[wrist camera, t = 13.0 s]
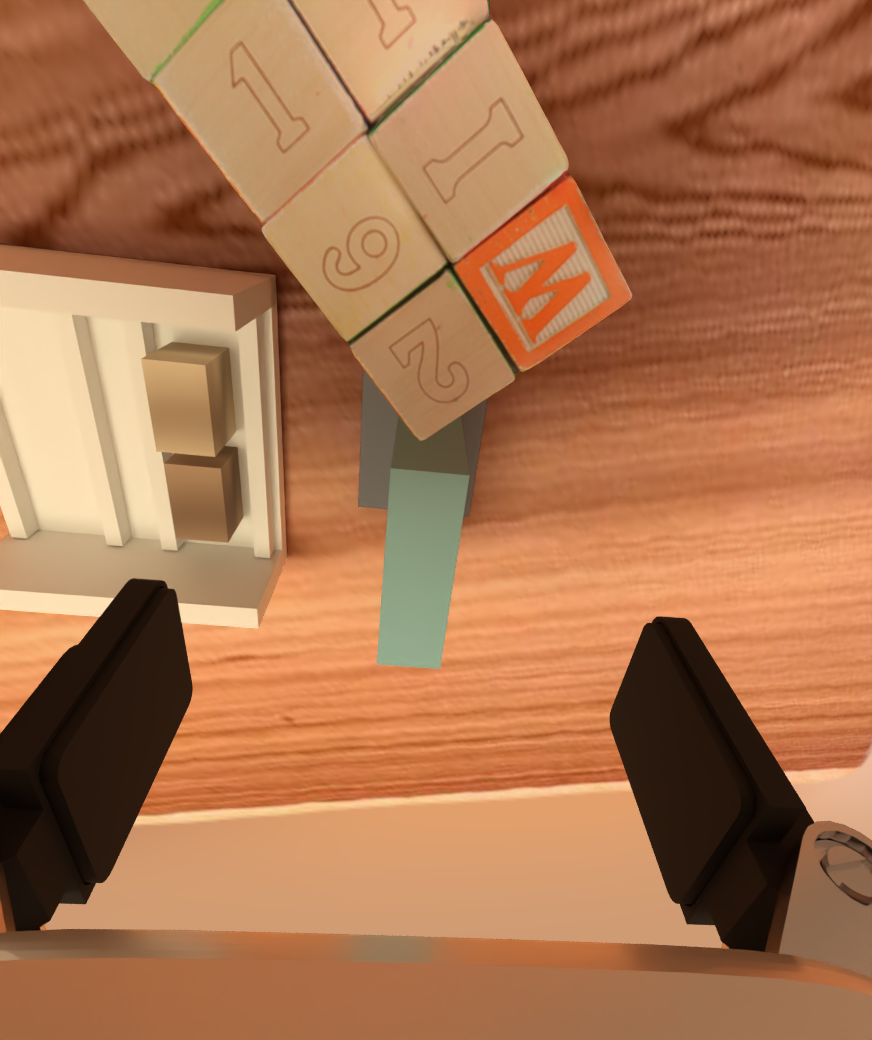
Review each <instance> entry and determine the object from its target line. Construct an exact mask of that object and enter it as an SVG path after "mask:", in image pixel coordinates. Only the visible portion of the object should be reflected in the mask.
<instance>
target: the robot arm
mask: <svg viewBox="0 0 872 1040" xmlns="http://www.w3.org/2000/svg"><path fill="white" fill-rule="evenodd" d="M191 697H192V680H191V674H190V669H189V663H188V657H187V651H186V646H185V640H184V634H183V628H182V622H181V617H180V611H179V605H178V599H177V594H176V591H175V590H174V589H170V588H168V587H167V584H166V582H165V581H162V580H151V579H137V578H132V579H130V580H129V581H128V582H127V583H126V584H125V585H124V586H123V588H122V589H121V590H120V592H119V593H118V594H117V595H116V597H115V598H114V599H113V601H112V602H111V603H110V604H109V606H108V607H107V608H106V610H105V611H104V612H103V613H102V615H101V616H100V617H99V619H98V620H97V621H96V622H95V624H94V625H93V626H92V628H91V629H90V630H89V631H88V633H87V634H86V635H85V637H84V638H83V639H82V640H81V642H80V643H79V644H78V645H75V646H73V647H71V648H69V649H68V650H67V651H66V652H65V653H64V654H63V655H62V657H61V658H60V659H59V661H58V662H57V663H56V664H55V666H54V667H53V668H52V669H51V671H50V672H49V673H48V674H47V676H46V677H45V678H44V679H43V681H42V682H41V683H40V684H39V686H38V687H37V688H36V690H35V691H34V692H33V693H32V695H31V696H30V697H29V698H28V700H27V701H26V702H25V703H24V705H23V706H22V707H21V708H20V710H19V711H18V712H17V714H16V715H15V716H14V717H13V719H12V720H11V721H10V722H9V724H8V725H7V726H6V727H5V729H4V730H3V731H2V732H1V734H0V1040H872V840H870V839H869V838H867V837H866V836H865V835H863V834H862V833H860V832H858V831H856V830H854V829H852V828H850V827H848V826H846V825H843V824H839V823H835V822H831V821H820V822H815V823H814V821H813V820H812V818H811V816H810V815H809V813H808V811H807V810H806V807H805V806H804V804H803V802H802V801H801V799H800V798H799V796H798V794H797V793H796V791H795V790H794V788H793V786H792V785H791V783H790V781H789V780H788V778H787V777H786V775H785V773H784V772H783V770H782V769H781V767H780V765H779V764H778V762H777V761H776V759H775V757H774V756H773V754H772V753H771V751H770V749H769V748H768V746H767V745H766V743H765V741H764V740H763V738H762V736H761V735H760V733H759V732H758V730H757V728H756V727H755V725H754V724H753V722H752V720H751V719H750V717H749V716H748V714H747V712H746V711H745V709H744V708H743V706H742V704H741V703H740V701H739V700H738V698H737V696H736V695H735V693H734V692H733V690H732V688H731V687H730V685H729V683H728V682H727V680H726V679H725V677H724V675H723V674H722V672H721V671H720V669H719V667H718V666H717V664H716V663H715V661H714V659H713V658H712V656H711V655H710V653H709V651H708V650H707V648H706V647H705V645H704V643H703V642H702V640H701V639H700V637H699V635H698V634H697V632H696V630H695V629H694V627H693V626H692V624H691V623H690V622H689V620H687V619H685V618H673V617H656V618H655V619H654V620H653V622H652V623H647V624H646V625H645V626H644V628H643V630H642V633H641V635H640V638H639V640H638V643H637V646H636V648H635V651H634V653H633V656H632V658H631V661H630V663H629V666H628V668H627V671H626V673H625V676H624V678H623V681H622V684H621V686H620V689H619V691H618V694H617V696H616V699H615V701H614V704H613V706H612V709H611V712H610V727H611V730H612V733H613V736H614V739H615V742H616V745H617V748H618V751H619V753H620V756H621V759H622V762H623V765H624V768H625V771H626V774H627V776H628V779H629V782H630V785H631V788H632V791H633V793H634V796H635V799H636V802H637V805H638V808H639V811H640V814H641V817H642V819H643V822H644V825H645V828H646V831H647V834H648V836H649V839H650V842H651V845H652V848H653V851H654V854H655V856H656V859H657V862H658V865H659V868H660V871H661V874H662V877H663V880H664V882H665V885H666V888H667V891H668V893H669V895H670V898H671V899H672V901H674V902H675V903H677V904H680V906H681V909H682V911H683V914H684V917H685V920H686V923H687V924H696V925H715V926H716V928H717V931H718V934H719V936H720V939H721V941H722V942H723V944H722V947H721V948H703V947H687V946H669V945H650V944H649V945H648V944H622V943H594V942H566V941H538V940H512V939H479V938H447V937H415V936H383V935H381V936H380V935H350V934H312V933H274V932H273V933H272V932H235V931H195V930H194V931H193V930H112V929H110V930H108V929H62V930H46V928H45V924H46V923H47V922H49V921H50V920H51V918H52V916H53V914H54V912H55V910H56V908H57V906H58V904H59V903H65V904H86V903H87V900H88V899H89V896H90V894H91V892H92V890H93V888H94V886H95V884H96V883H103V882H104V881H105V880H106V879H107V878H108V876H109V875H110V873H111V871H112V869H113V867H114V865H115V863H116V861H117V858H118V856H119V854H120V852H121V850H122V848H123V846H124V843H125V841H126V839H127V837H128V835H129V833H130V831H131V828H132V826H133V824H134V822H135V820H136V818H137V816H138V813H139V811H140V809H141V807H142V805H143V803H144V801H145V798H146V796H147V794H148V792H149V790H150V788H151V786H152V783H153V781H154V779H155V777H156V775H157V773H158V771H159V768H160V766H161V764H162V762H163V760H164V758H165V756H166V753H167V751H168V749H169V747H170V745H171V743H172V741H173V738H174V736H175V734H176V732H177V730H178V728H179V726H180V723H181V721H182V719H183V717H184V715H185V713H186V711H187V708H188V706H189V704H190V701H191Z"/></svg>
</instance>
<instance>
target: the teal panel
mask: <svg viewBox="0 0 872 1040" xmlns="http://www.w3.org/2000/svg"><path fill="white" fill-rule="evenodd" d="M469 476H470V475H469V468H468V461H467V454H466V447H465V440H464V433H463V426H462V419H461V416H460V417H458V418H457V419H455V420H454V421H452V422H451V423H449V424H447V425H446V426H444V427H443V428H441V429H440V430H439V431H437V432H436V433H434V434H433V435H431V436H430V437H428V438H427V439H425V440H422V441H420V440H418V439H417V438H416V437H415V436H414V435H413V433H412V432H411V431H410V430H409V428H408V427H407V426H406V424H405V423H404V422H403V420H402V419H401V418H400V416H398V423H397V429H396V436H395V443H394V449H393V456H392V463H391V471H390V485H389V499H388V513H387V528H386V542H385V556H384V570H383V584H382V598H381V612H380V626H379V641H378V655H377V664H379V665H393V666H407V667H421V668H435V669H440V666H441V660H442V653H443V646H444V640H445V633H446V627H447V620H448V614H449V607H450V601H451V594H452V587H453V581H454V574H455V568H456V561H457V555H458V548H459V542H460V535H461V528H462V522H463V515H464V509H465V502H466V496H467V489H468V482H469Z"/></svg>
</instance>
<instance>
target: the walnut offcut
mask: <svg viewBox="0 0 872 1040" xmlns="http://www.w3.org/2000/svg"><path fill="white" fill-rule="evenodd" d="M164 467H165V473H166V479H167V485H168V492H169V498H170V504H171V510H172V517H173V523H174V529H175V535H176V538H177V539H189V540H202V541H214V542H226V543H228V542H229V541H230V539H231V537H232V536H233V534H234V532H235V531H236V529H237V527H238V525H239V524H240V522H241V520H242V519H243V506H242V494H241V482H240V470H239V458H238V447H231V446H224V447H223V448H222V449H221V451H220V452H219V453H218V454H217V455H216V456H215V457H211V456H200V455H189V454H178V453H174V454H173V455H172V456H171V457H170V458H169V459H168V460H167V461H166V462H165V463H164Z"/></svg>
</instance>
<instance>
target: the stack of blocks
mask: <svg viewBox="0 0 872 1040" xmlns="http://www.w3.org/2000/svg"><path fill="white" fill-rule="evenodd" d="M83 1H84V3H85V4H86V5H87V6H88V8H89V9H90V10H91V11H92V13H93V14H94V15H95V17H96V18H97V19H98V20H99V22H100V23H101V24H102V25H103V27H104V28H105V29H106V31H107V32H108V33H109V34H110V36H111V37H112V38H113V40H114V41H115V42H116V43H117V45H118V46H119V47H120V49H121V50H122V51H123V52H124V54H125V55H126V56H127V58H128V59H129V60H130V61H131V63H132V64H133V65H134V67H135V68H136V69H137V70H138V72H139V73H140V74H141V76H142V77H143V78H144V79H146V80H147V81H148V82H150V83H151V84H153V85H154V86H156V88H157V89H158V90H159V92H160V93H161V94H162V96H163V97H164V98H165V100H166V101H167V103H168V104H169V105H170V107H171V108H172V109H173V111H174V112H175V113H176V115H177V116H178V118H179V119H180V120H181V121H182V123H183V124H184V125H185V127H186V128H187V129H188V130H189V132H190V133H191V134H192V136H193V137H194V138H195V139H196V141H197V142H198V143H199V145H200V146H201V147H202V148H203V150H204V151H205V152H206V154H207V155H208V156H209V157H210V159H211V160H212V161H213V162H214V163H215V165H216V166H217V167H218V169H219V170H220V171H221V173H222V174H223V175H224V177H225V178H226V179H227V181H228V182H229V183H230V185H231V186H232V187H233V189H234V190H235V191H236V192H237V194H238V195H239V196H240V198H241V199H242V200H243V201H244V203H245V204H246V205H247V206H248V208H249V209H250V210H251V211H252V213H253V214H254V215H255V216H256V217H257V218H258V219H259V221H260V224H261V231H262V233H263V235H264V236H265V238H266V239H267V241H268V242H269V243H270V245H271V246H272V247H273V248H274V250H275V251H276V252H277V254H278V255H279V256H280V258H281V259H282V260H283V262H284V263H285V264H286V266H287V267H288V268H289V269H290V271H291V272H292V273H293V274H294V276H295V277H296V278H297V280H298V281H299V282H300V283H301V285H302V286H303V287H304V289H305V290H306V291H307V292H308V294H309V295H310V296H311V298H312V299H313V300H314V302H315V303H316V304H317V306H318V307H319V308H320V309H321V311H322V312H323V313H324V315H325V316H326V317H327V319H328V320H329V321H330V323H331V324H332V325H333V327H334V328H335V329H336V331H337V332H338V333H339V335H340V336H341V337H342V338H344V339H345V340H346V341H347V342H349V346H350V349H351V351H352V353H353V356H354V357H355V358H356V359H357V361H358V362H359V363H360V365H361V366H362V367H363V368H364V370H365V371H366V372H367V374H368V375H369V376H370V378H371V379H372V380H373V382H374V383H375V385H376V386H377V387H378V389H379V390H380V391H381V393H382V394H383V395H384V397H385V398H386V399H387V400H388V402H389V403H390V404H391V406H392V407H393V408H394V410H395V411H396V412H397V414H398V415H399V416H400V418H401V419H402V420H403V422H404V423H405V424H406V426H407V427H408V428H409V430H410V431H411V432H412V433H413V435H414V436H415V437H416V438H417V439H418V440H420V441H422V440H425V439H427V438H428V437H430V436H431V435H433V434H434V433H436V432H437V431H439V430H440V429H441V428H443V427H444V426H446V425H447V424H449V423H451V422H452V421H454V420H455V419H457V418H458V417H460V416H461V415H463V414H464V413H466V412H467V411H469V410H470V409H472V408H473V407H475V406H476V405H478V404H479V403H481V402H482V401H484V400H485V399H487V398H488V397H490V396H492V395H493V394H495V393H496V392H498V391H499V390H501V389H502V388H504V387H506V386H507V385H509V384H510V383H511V382H513V381H514V380H515V374H516V372H517V371H521V372H524V371H526V370H528V369H530V368H532V367H533V366H535V365H537V364H539V363H540V362H542V361H543V360H544V359H546V358H547V357H549V356H550V355H552V354H553V353H555V352H556V351H558V350H559V349H561V348H562V347H564V346H565V345H566V344H568V343H569V342H571V341H572V340H574V339H575V338H577V337H578V336H580V335H581V334H583V333H584V332H586V331H587V330H588V329H590V328H591V327H593V326H594V325H596V324H597V323H599V322H600V321H602V320H603V319H604V318H606V317H607V316H609V315H610V314H612V313H613V312H615V311H616V310H618V309H619V308H620V307H622V306H623V305H624V304H625V303H627V302H628V301H629V300H630V299H631V298H632V293H631V291H630V289H629V287H628V285H627V283H626V281H625V279H624V277H623V275H622V273H621V271H620V269H619V267H618V265H617V263H616V261H615V259H614V257H613V255H612V253H611V251H610V250H609V248H608V246H607V244H606V242H605V240H604V238H603V236H602V234H601V232H600V230H599V228H598V226H597V223H596V221H595V219H594V217H593V216H592V214H591V212H590V210H589V208H588V206H587V204H586V202H585V200H584V198H583V196H582V194H581V191H580V189H579V187H578V185H577V184H576V182H575V181H574V179H573V178H572V177H571V176H570V175H569V173H568V169H569V162H568V158H567V156H566V154H565V152H564V150H563V148H562V146H561V145H560V143H559V141H558V139H557V137H556V135H555V133H554V131H553V129H552V127H551V125H550V123H549V121H548V119H547V118H546V116H545V114H544V112H543V110H542V108H541V106H540V104H539V103H538V101H537V99H536V97H535V95H534V93H533V91H532V89H531V87H530V85H529V83H528V81H527V79H526V77H525V75H524V74H523V72H522V70H521V68H520V66H519V64H518V62H517V60H516V58H515V57H514V55H513V53H512V51H511V49H510V47H509V45H508V43H507V42H506V40H505V38H504V36H503V34H502V32H501V30H500V29H499V27H498V25H497V24H496V23H495V22H494V21H493V20H492V19H490V16H489V9H490V4H489V0H83Z"/></svg>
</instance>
